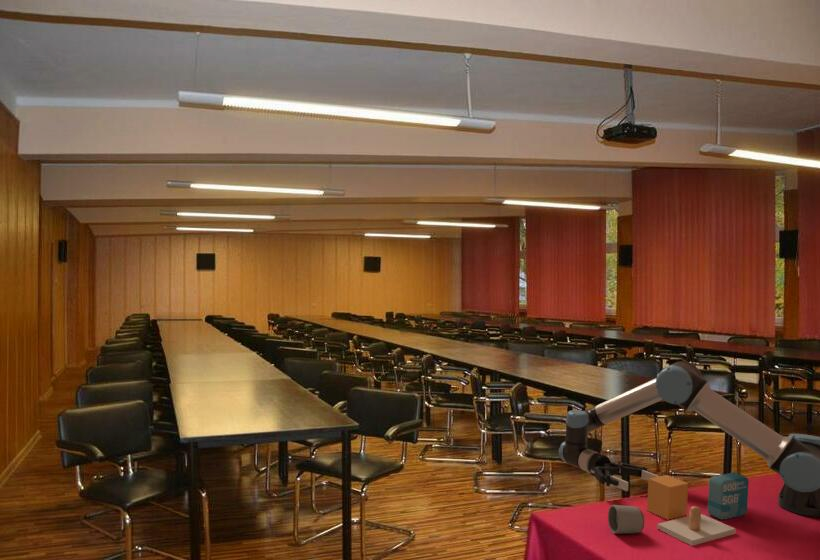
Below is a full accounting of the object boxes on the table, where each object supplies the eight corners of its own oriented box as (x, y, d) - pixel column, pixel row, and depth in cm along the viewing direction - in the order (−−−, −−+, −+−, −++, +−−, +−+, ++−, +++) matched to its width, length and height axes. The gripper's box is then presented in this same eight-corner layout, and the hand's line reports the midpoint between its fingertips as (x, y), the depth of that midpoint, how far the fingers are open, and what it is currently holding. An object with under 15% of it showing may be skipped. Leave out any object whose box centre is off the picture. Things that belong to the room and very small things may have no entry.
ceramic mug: (645, 537, 191) (646, 510, 190) (617, 538, 190) (618, 510, 189) (628, 522, 201) (629, 496, 201) (602, 523, 200) (603, 497, 200)
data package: (719, 521, 204) (721, 481, 203) (706, 515, 208) (709, 476, 207) (747, 514, 209) (749, 476, 208) (734, 509, 213) (736, 471, 212)
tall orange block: (665, 506, 214) (666, 474, 213) (686, 515, 207) (688, 483, 206) (647, 510, 210) (648, 478, 209) (668, 520, 203) (669, 487, 202)
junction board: (699, 518, 205) (700, 492, 205) (735, 533, 195) (736, 506, 194) (657, 528, 196) (658, 501, 196) (692, 545, 186) (693, 517, 185)
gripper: (621, 469, 241) (669, 489, 223) (566, 479, 229) (613, 501, 211) (622, 448, 241) (670, 466, 222) (567, 457, 229) (614, 477, 210)
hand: (643, 483), depth 216 cm, fingers open, 13 cm apart
